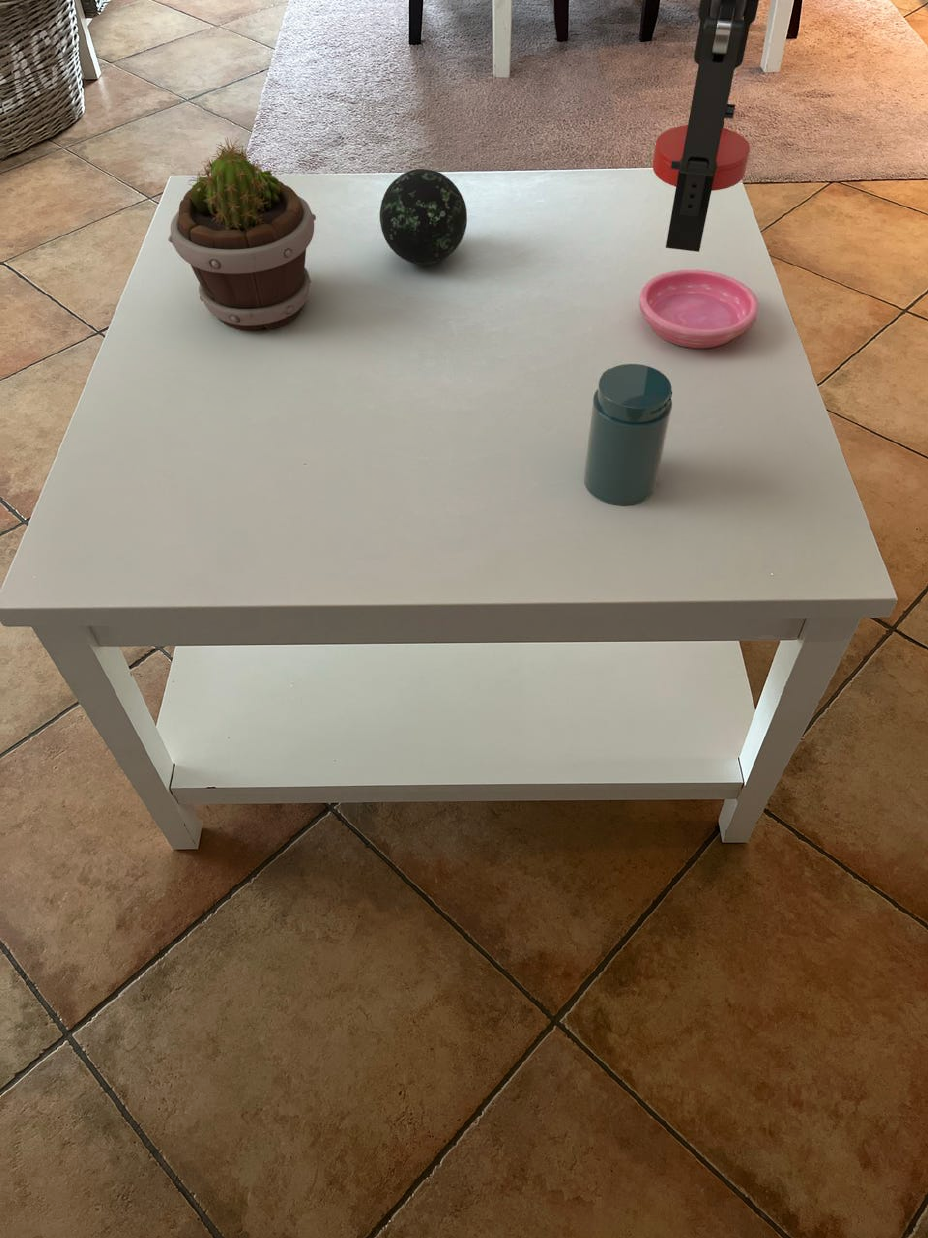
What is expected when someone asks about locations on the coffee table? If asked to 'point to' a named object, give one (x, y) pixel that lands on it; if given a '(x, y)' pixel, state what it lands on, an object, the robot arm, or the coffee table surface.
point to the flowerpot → (245, 242)
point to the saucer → (697, 307)
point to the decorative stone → (423, 216)
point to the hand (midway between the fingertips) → (687, 222)
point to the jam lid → (728, 158)
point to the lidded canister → (627, 433)
